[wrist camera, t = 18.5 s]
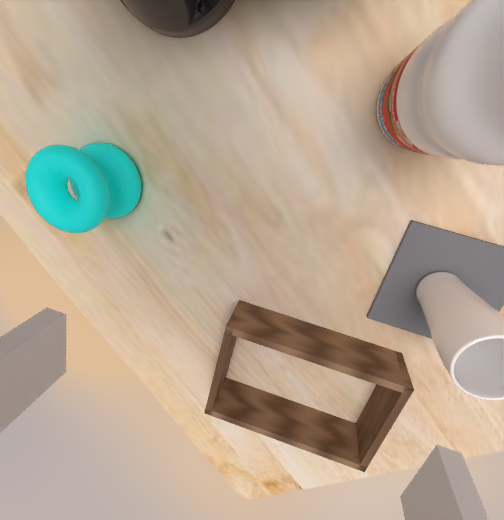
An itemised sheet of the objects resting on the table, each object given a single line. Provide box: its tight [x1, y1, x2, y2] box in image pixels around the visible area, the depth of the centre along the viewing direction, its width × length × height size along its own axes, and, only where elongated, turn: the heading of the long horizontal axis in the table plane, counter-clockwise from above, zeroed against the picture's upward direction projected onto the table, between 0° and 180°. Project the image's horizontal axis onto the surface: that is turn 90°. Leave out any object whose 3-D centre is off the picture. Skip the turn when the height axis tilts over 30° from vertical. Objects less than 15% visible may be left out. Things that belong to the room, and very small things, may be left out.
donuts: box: [26, 143, 141, 233], centre depth 41 cm, size 10×10×10 cm
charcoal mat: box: [367, 220, 504, 338], centre depth 41 cm, size 14×14×1 cm
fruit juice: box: [377, 0, 504, 166], centre depth 22 cm, size 9×9×28 cm
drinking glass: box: [416, 272, 504, 400], centre depth 34 cm, size 7×7×15 cm
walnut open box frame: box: [205, 301, 414, 472], centre depth 47 cm, size 24×16×7 cm, turn 76°
